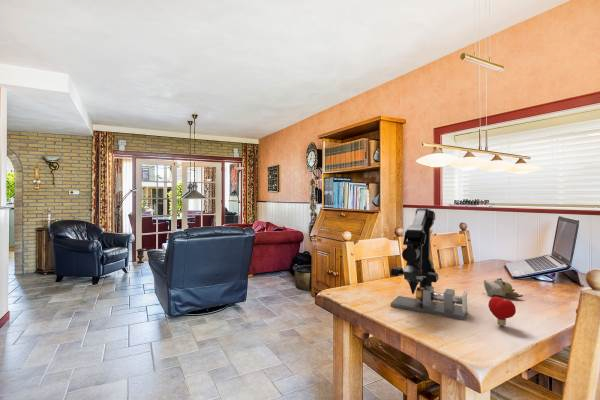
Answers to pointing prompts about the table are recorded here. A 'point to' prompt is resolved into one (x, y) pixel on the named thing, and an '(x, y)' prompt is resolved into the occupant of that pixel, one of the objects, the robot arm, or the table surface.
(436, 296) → the shaft
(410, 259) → the robot arm
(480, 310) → the table surface
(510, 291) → the ceramic sculpture
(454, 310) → the bearing frame
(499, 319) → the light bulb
